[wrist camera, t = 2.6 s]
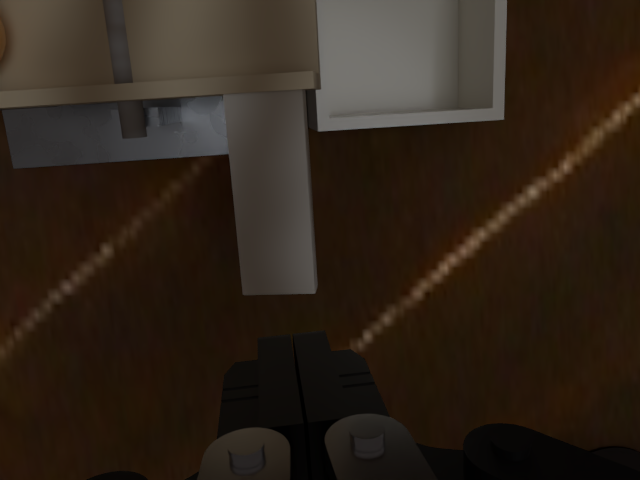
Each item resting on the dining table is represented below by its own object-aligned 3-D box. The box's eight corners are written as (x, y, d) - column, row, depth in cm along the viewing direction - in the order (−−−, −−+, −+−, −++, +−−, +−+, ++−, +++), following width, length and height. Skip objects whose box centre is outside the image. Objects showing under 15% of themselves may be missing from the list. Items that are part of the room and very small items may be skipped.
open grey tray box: (465, -56, 31) (509, -90, 25) (464, 117, 33) (503, 119, 28) (297, -51, 30) (305, -85, 24) (308, 127, 32) (317, 131, 27)
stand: (283, -75, 29) (291, -137, 22) (297, 148, 32) (309, 161, 25) (-26, -66, 28) (-132, -129, 20) (19, 167, 31) (-58, 186, 23)
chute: (315, -98, 22) (300, -145, 18) (334, 264, 26) (326, 297, 21) (-48, -61, 24) (-141, -96, 19) (20, 272, 27) (-45, 304, 23)
